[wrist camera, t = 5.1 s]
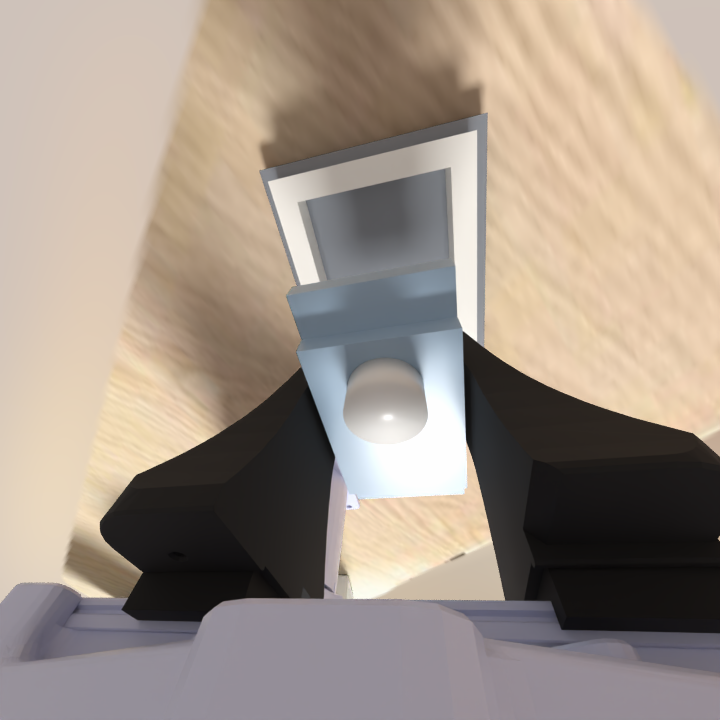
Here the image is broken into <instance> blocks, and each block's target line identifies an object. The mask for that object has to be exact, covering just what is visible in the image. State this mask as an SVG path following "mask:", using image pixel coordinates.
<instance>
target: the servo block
mask: <svg viewBox="0 0 720 720" xmlns="http://www.w3.org/2000/svg"><path fill="white" fill-rule="evenodd" d="M286 297H287V300H288V303H289V306H290V308H291V311H292V314H293V317H294V320H295V322H296V325H297V328H298V331H299V334H300V337H301V339H302V340H301V342H300V344H299V346H298V349H297V351H296V353H297V356H298V358H299V361H300V364H301V366H302V369H303V372H304V374H305V377H306V380H307V382H308V385H309V388H310V390H311V393H312V396H313V398H314V401H315V404H316V406H317V409H318V412H319V414H320V417H321V420H322V422H323V425H324V428H325V430H326V433H327V436H328V438H329V441H330V444H331V446H332V449H333V452H334V454H335V457H336V460H337V462H338V465H339V468H340V470H341V473H342V476H343V478H344V481H345V484H346V486H347V489H348V492H349V494H356V495H357V497H358V499H374V498H394V497H413V496H433V495H452V494H464V488H467V462H466V429H465V396H464V363H463V331H462V326H461V324H460V321H459V319H458V317H457V293H456V268H455V264H454V262H453V261H452V259H451V258H448V259H443V260H437V261H432V262H426V263H421V264H415V265H410V266H404V267H399V268H393V269H388V270H382V271H377V272H371V273H366V274H360V275H355V276H349V277H344V278H338V279H333V280H327V281H322V282H316V283H311V284H306V285H300V286H295V287H292V288H291V289H290V291H289V292H288V294H287V295H286Z"/></svg>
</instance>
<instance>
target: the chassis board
mask: <svg viewBox="0 0 720 720" xmlns="http://www.w3.org/2000/svg"><path fill="white" fill-rule="evenodd" d="M487 114H488V113H485V114H481V115H477V116H473V117H469V118H465V119H461V120H457V121H453V122H449V123H445V124H441V125H437V126H433V127H430V128H426V129H422V130H418V131H414V132H410V133H406V134H402V135H398V136H394V137H390V138H386V139H382V140H378V141H374V142H371V143H367V144H363V145H359V146H355V147H351V148H347V149H343V150H339V151H335V152H331V153H327V154H323V155H319V156H315V157H312V158H308V159H304V160H300V161H296V162H292V163H288V164H284V165H280V166H276V167H272V168H268V169H264V170H260V174H261V177H262V180H263V184H264V187H265V190H266V193H267V196H268V199H269V202H270V205H271V208H272V211H273V214H274V217H275V220H276V223H277V227H278V230H279V233H280V236H281V239H282V242H283V245H284V248H285V251H286V254H287V257H288V260H289V263H290V266H291V270H292V273H293V276H294V279H295V282H296V285H297V286H300V285H306V284H311V283H316V282H322V281H327V280H333V279H338V278H344V277H349V276H355V275H360V274H366V273H371V272H377V271H382V270H388V269H393V268H399V267H404V266H410V265H415V264H421V263H426V262H432V261H437V260H443V259H448V258H451V259H452V261H453V262H454V264H455V268H456V293H457V317H458V319H459V321H460V324H461V326H462V331H464V332H465V333H466V334H468V335H469V336H470V337H471V338H473V339H474V340H475V341H476V342H478V343H479V344H480V345H481V346H483V347H484V315H485V248H486V181H487Z"/></svg>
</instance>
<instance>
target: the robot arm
mask: <svg viewBox="0 0 720 720" xmlns="http://www.w3.org/2000/svg"><path fill="white" fill-rule="evenodd" d="M463 363H464V396H465V429H466V442H467V444H468V447H469V450H470V453H471V456H472V459H473V462H474V465H475V469H476V473H477V477H478V481H479V485H480V489H481V493H482V497H483V502H484V506H485V510H486V515H487V519H488V523H489V528H490V532H491V537H492V541H493V545H494V550H495V554H496V559H497V563H498V568H499V573H500V578H501V582H502V587H503V592H504V596H505V601H482V600H481V601H480V600H479V601H478V600H477V601H476V600H402V599H343V597H342V596H341V595H337V594H336V589H337V580H338V572H339V563H340V555H341V546H342V538H343V529H344V521H345V512H346V510H347V509H358V508H359V507H360V502H359V499H358V497H357V495H356V494H349V492H348V489H347V486H346V484H345V481H344V478H343V476H342V473H341V470H340V468H339V465H338V462H337V460H336V457H335V454H334V452H333V449H332V446H331V444H330V441H329V438H328V436H327V433H326V430H325V428H324V425H323V422H322V420H321V417H320V414H319V412H318V409H317V406H316V404H315V401H314V398H313V396H312V393H311V390H310V388H309V385H308V382H307V380H306V377H305V374H304V372H303V369H302V367H301V368H300V369H299V370H298V371H297V372H296V373H295V374H294V375H293V376H292V377H291V378H290V379H289V380H288V381H287V382H286V383H284V384H283V385H282V386H281V387H280V388H279V389H278V390H277V391H276V392H275V393H273V394H272V395H271V396H270V397H269V398H268V399H267V400H265V401H264V402H263V403H262V404H260V405H259V406H258V407H257V408H255V409H254V410H253V411H251V412H250V413H249V414H247V415H246V416H245V417H243V418H242V419H240V420H239V421H237V422H236V423H234V424H233V425H231V426H229V427H228V428H226V429H225V430H223V431H222V432H220V433H219V434H217V435H215V436H214V437H212V438H210V439H209V440H207V441H205V442H203V443H202V444H200V445H198V446H196V447H194V448H192V449H190V450H189V451H187V452H185V453H183V454H181V455H179V456H177V457H175V458H173V459H170V460H168V461H166V462H164V463H162V464H160V465H158V466H155V467H153V468H151V469H149V470H147V471H145V472H142V473H140V474H138V475H136V476H135V477H134V478H133V480H132V481H131V482H130V483H129V485H128V486H127V487H126V489H125V490H124V491H123V493H122V494H121V495H120V497H119V498H118V499H117V500H116V502H115V503H114V504H113V506H112V507H111V508H110V509H109V511H108V512H107V513H106V514H105V516H104V517H103V518H102V520H101V521H100V532H101V535H102V536H103V538H104V540H105V541H106V542H107V543H108V544H109V545H110V546H111V547H112V548H113V549H114V550H116V551H117V552H118V553H119V554H121V555H122V556H123V557H124V558H126V559H127V560H128V561H129V562H131V563H132V564H133V565H134V566H136V567H137V568H138V569H139V570H141V571H142V572H143V574H142V575H141V577H140V579H139V580H138V582H137V584H136V586H135V587H134V589H133V591H132V592H131V594H130V596H129V597H128V598H82V597H81V595H80V594H79V593H78V592H76V591H75V590H73V589H71V588H70V587H67V586H65V585H62V584H58V583H20V584H18V585H16V586H15V587H14V588H13V589H12V591H11V592H10V593H9V594H8V595H7V596H6V598H5V599H4V600H3V601H2V602H1V603H0V720H720V541H719V540H718V537H719V536H720V457H719V456H718V455H717V454H716V453H715V452H714V451H712V449H710V448H709V447H708V446H707V445H706V444H705V443H704V442H703V441H702V440H700V439H699V438H698V437H697V436H695V435H694V434H693V433H689V432H685V431H682V430H678V429H674V428H670V427H666V426H662V425H659V424H655V423H651V422H647V421H643V420H640V419H636V418H632V417H629V416H626V415H623V414H620V413H617V412H613V411H610V410H607V409H604V408H601V407H598V406H595V405H593V404H590V403H587V402H584V401H582V400H579V399H577V398H574V397H572V396H569V395H567V394H564V393H562V392H559V391H557V390H555V389H553V388H551V387H548V386H546V385H544V384H542V383H540V382H538V381H536V380H534V379H532V378H530V377H528V376H527V375H525V374H523V373H521V372H520V371H518V370H516V369H515V368H513V367H511V366H510V365H508V364H507V363H505V362H503V361H502V360H500V359H499V358H498V357H496V356H495V355H493V354H492V353H491V352H489V351H488V350H487V349H485V348H484V347H483V346H481V345H480V344H479V343H478V342H476V341H475V340H474V339H473V338H471V337H470V336H469V335H468V334H466V333H465V332H464V331H463Z"/></svg>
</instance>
